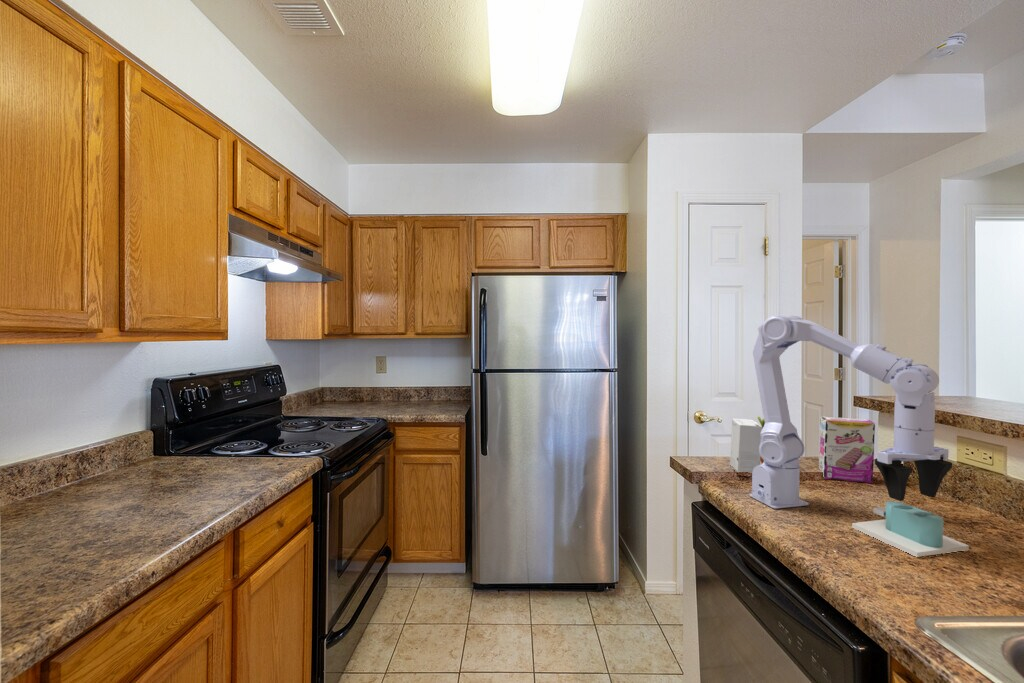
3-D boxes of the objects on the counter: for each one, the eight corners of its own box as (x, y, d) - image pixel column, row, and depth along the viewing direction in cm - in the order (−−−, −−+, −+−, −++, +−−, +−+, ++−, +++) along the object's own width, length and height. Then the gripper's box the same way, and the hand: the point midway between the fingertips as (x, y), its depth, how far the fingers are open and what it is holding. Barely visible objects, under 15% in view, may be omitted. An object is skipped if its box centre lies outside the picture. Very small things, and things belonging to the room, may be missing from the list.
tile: (917, 558, 78) (917, 552, 77) (852, 527, 89) (852, 523, 89) (968, 550, 80) (968, 545, 80) (898, 522, 92) (898, 517, 92)
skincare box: (729, 467, 128) (729, 417, 127) (751, 469, 127) (752, 418, 126) (737, 477, 120) (738, 423, 119) (762, 478, 118) (762, 424, 118)
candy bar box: (824, 479, 117) (825, 419, 117) (818, 473, 122) (819, 416, 122) (874, 484, 114) (875, 422, 113) (866, 478, 118) (867, 418, 118)
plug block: (931, 548, 79) (932, 521, 79) (870, 522, 89) (870, 498, 89) (948, 546, 80) (949, 519, 79) (885, 520, 90) (885, 496, 90)
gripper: (906, 434, 78) (904, 509, 78) (968, 430, 81) (966, 502, 81) (866, 426, 85) (865, 494, 85) (925, 422, 88) (924, 488, 88)
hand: (912, 497), depth 84 cm, fingers open, 7 cm apart
